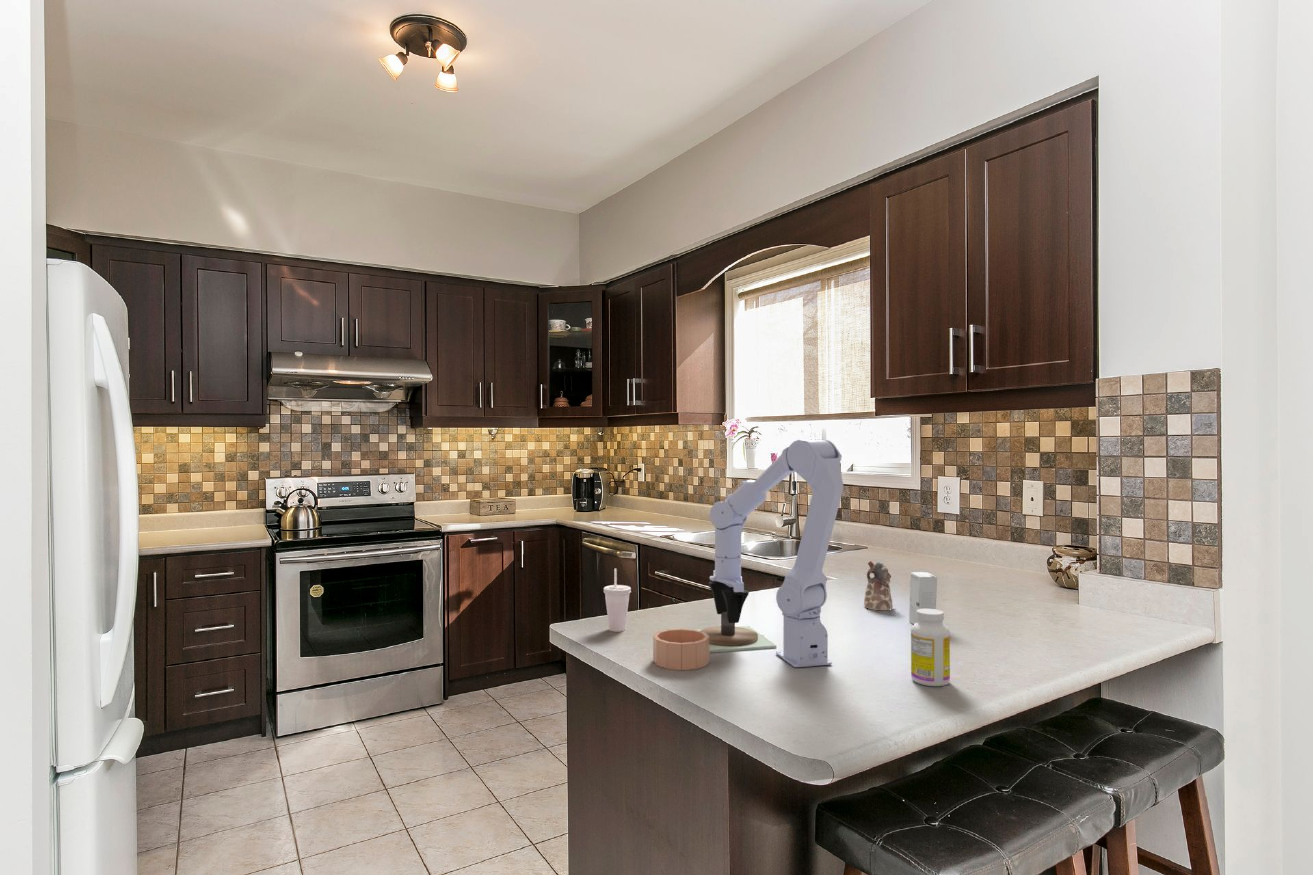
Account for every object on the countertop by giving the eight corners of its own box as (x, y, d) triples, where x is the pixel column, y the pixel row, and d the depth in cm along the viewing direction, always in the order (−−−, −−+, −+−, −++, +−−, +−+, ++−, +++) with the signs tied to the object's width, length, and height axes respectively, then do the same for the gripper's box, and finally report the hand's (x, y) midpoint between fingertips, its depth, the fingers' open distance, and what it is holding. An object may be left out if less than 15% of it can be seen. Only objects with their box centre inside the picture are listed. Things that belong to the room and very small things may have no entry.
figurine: (886, 612, 184) (887, 565, 184) (859, 608, 189) (860, 562, 189) (896, 607, 190) (896, 561, 190) (870, 603, 194) (870, 558, 194)
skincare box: (908, 621, 175) (908, 571, 175) (926, 621, 175) (926, 571, 175) (918, 628, 169) (918, 576, 169) (937, 628, 169) (937, 576, 169)
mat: (776, 647, 154) (776, 645, 154) (704, 653, 150) (704, 650, 150) (749, 628, 169) (749, 625, 169) (682, 632, 165) (682, 630, 165)
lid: (767, 643, 155) (767, 619, 155) (708, 647, 152) (708, 622, 152) (745, 628, 167) (745, 605, 167) (690, 631, 164) (691, 608, 164)
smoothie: (616, 624, 172) (616, 565, 172) (636, 629, 168) (636, 568, 168) (597, 629, 167) (597, 569, 167) (618, 634, 163) (618, 572, 163)
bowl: (715, 667, 141) (715, 641, 141) (661, 671, 138) (661, 645, 138) (699, 651, 151) (699, 627, 151) (648, 654, 149) (648, 630, 148)
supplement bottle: (940, 675, 136) (940, 606, 136) (956, 687, 130) (956, 615, 130) (905, 675, 136) (905, 606, 136) (919, 687, 130) (919, 615, 129)
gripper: (700, 551, 166) (700, 610, 166) (721, 562, 151) (721, 627, 152) (730, 550, 167) (729, 609, 167) (753, 561, 153) (752, 625, 153)
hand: (727, 618), depth 160 cm, fingers open, 7 cm apart
